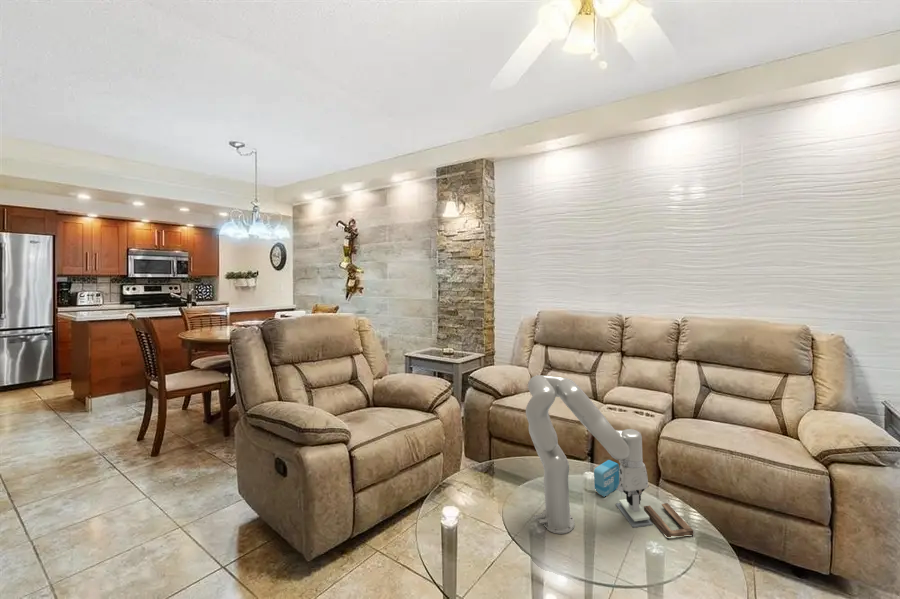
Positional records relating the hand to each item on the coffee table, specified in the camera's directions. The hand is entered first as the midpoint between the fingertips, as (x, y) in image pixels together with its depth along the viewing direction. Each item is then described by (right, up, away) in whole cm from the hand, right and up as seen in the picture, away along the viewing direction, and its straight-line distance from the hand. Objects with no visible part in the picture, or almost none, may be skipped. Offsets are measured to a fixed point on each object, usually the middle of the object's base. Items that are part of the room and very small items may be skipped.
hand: (633, 502), depth 165 cm
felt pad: (0, -5, +1) cm, 5 cm away
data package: (-4, -3, +17) cm, 18 cm away
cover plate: (0, -4, +1) cm, 4 cm away
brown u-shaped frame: (+11, -5, -5) cm, 13 cm away
